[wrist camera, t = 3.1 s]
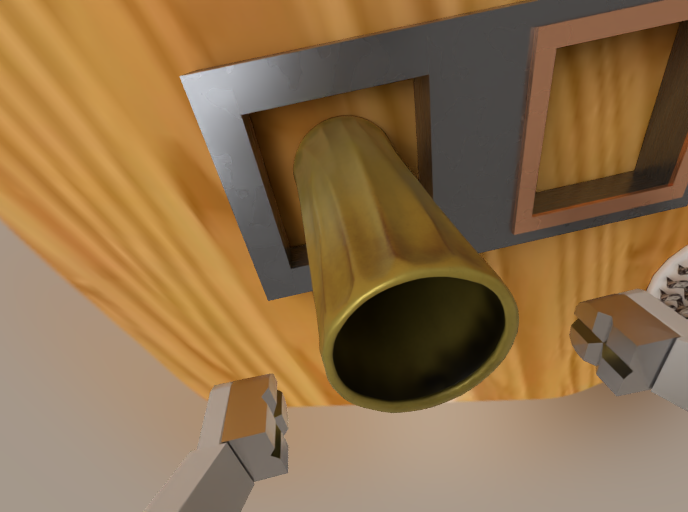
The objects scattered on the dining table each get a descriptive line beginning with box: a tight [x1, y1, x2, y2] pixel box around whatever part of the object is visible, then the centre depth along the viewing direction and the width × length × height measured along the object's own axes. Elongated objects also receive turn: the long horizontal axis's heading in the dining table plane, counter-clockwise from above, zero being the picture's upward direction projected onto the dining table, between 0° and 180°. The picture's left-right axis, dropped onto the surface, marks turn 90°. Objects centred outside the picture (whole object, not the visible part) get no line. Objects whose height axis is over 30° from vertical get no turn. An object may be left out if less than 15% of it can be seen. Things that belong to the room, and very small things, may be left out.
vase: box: [293, 116, 519, 413], centre depth 15 cm, size 6×6×14 cm
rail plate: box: [180, 0, 688, 301], centre depth 20 cm, size 13×28×3 cm, turn 100°
